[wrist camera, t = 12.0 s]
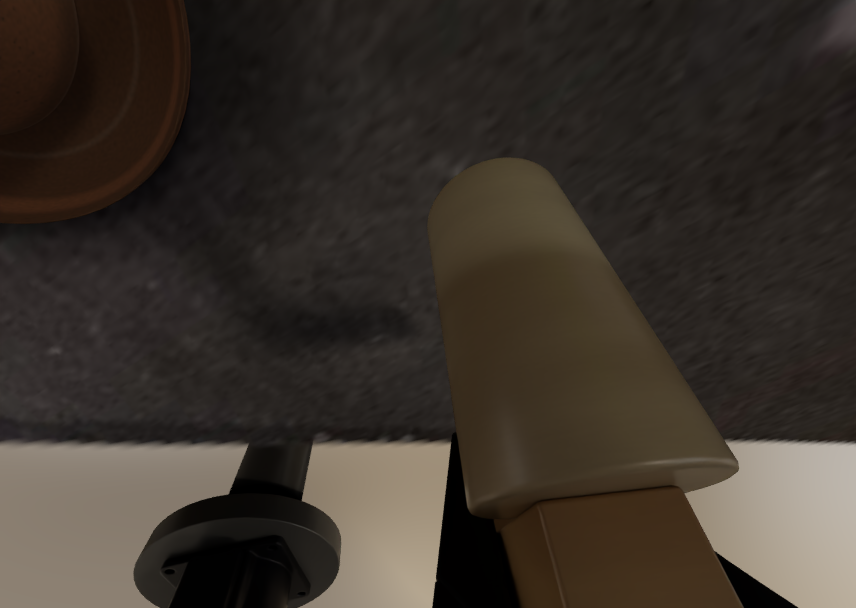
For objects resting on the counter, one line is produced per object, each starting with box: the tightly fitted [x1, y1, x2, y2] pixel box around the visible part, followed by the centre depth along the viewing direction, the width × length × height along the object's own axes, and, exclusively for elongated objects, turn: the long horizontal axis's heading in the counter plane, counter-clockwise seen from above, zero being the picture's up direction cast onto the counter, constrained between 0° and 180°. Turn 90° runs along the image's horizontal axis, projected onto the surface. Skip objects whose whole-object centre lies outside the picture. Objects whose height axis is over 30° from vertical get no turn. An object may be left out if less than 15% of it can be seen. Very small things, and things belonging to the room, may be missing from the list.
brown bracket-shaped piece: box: [427, 158, 744, 608], centre depth 8 cm, size 11×3×7 cm, turn 6°
